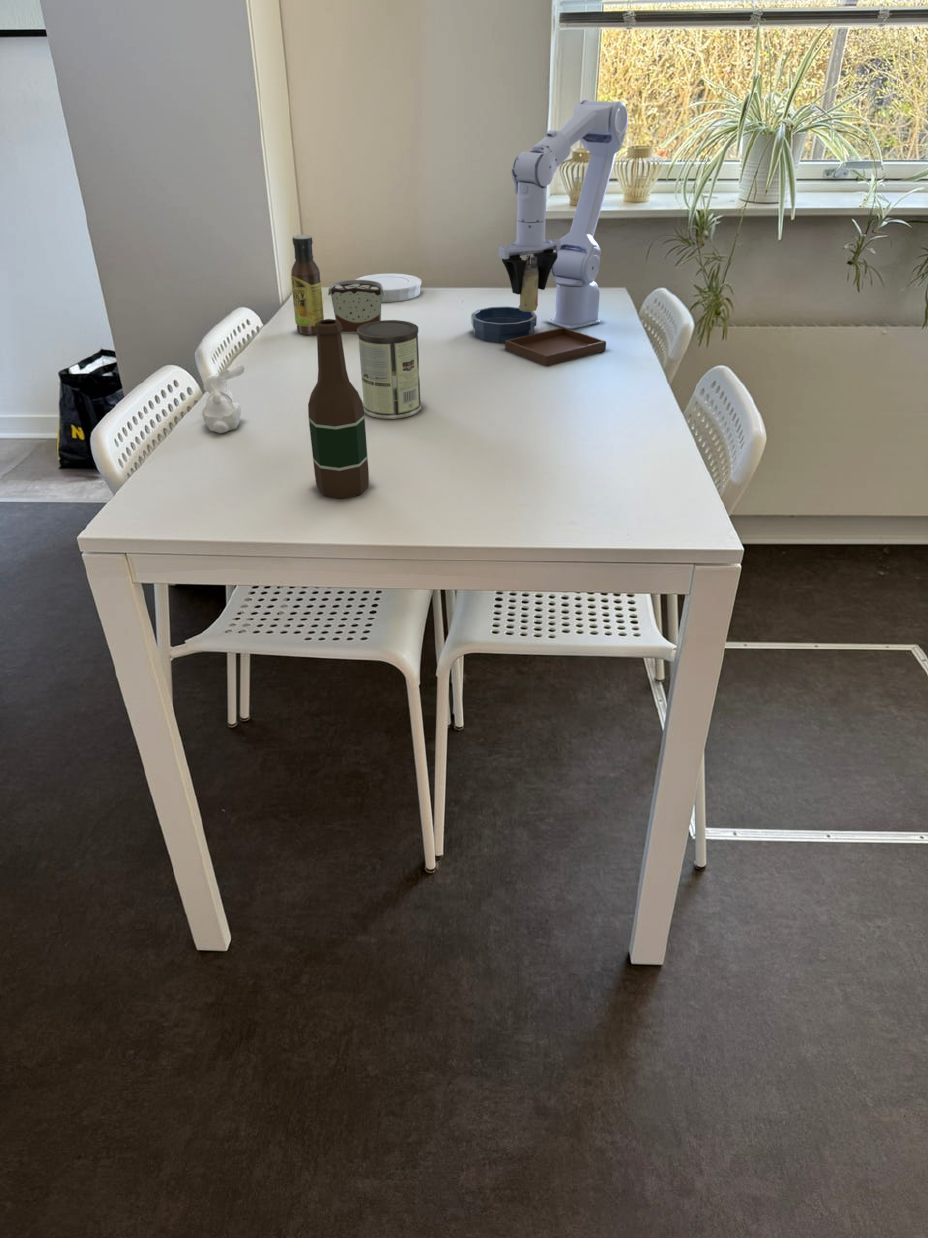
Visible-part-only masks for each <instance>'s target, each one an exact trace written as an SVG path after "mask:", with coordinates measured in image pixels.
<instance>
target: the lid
mask: <svg viewBox="0 0 928 1238" xmlns="http://www.w3.org/2000/svg"><path fill="white" fill-rule="evenodd" d="M355 280H369V281H375V282H378V283H380V284H381V285H382V287H383V290H384V294H385V296H383V293H382V301H381V303H393V302H394V303H395V302H403V301H408V300H409V301H410V300H412V299H415V298H417V297H419V296H420V294H421V285H422V279H420V277H417V276H415V275H412V274H405V273H376V274H368V275H364V276H361V277H357V278H356V279H355Z"/></svg>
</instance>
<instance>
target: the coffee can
mask: <svg viewBox="0 0 928 1238" xmlns="http://www.w3.org/2000/svg"><path fill="white" fill-rule="evenodd" d="M356 335H358V336H357V337H358V338H357V339H358V347H359V348H358V350H359V351H358V352H359V363H360V364H359V365H360V375H361V388H362V399H363V400H362V402H363V409H364V414H366V415H368V416H369V417H371V418H376V419H384V420H392V419H393V420H394V419H396V420H398V419H404V418H407V417H408V418H409V417H412V416H414V415H416V414H418V413H420V411H421V409H422V405H421V403H422V402H421V387H420V386H421V381H420V380H421V379H420V358H419V357H420V356H419V355H420V354H419V326H418V325H417V324H415V323H414V322H411V321H407V320H397V319H385V320H381V321H375V322H370V323H366V324H364V325H361V326H360V327H358V329H357V333H356Z"/></svg>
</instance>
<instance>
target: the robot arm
mask: <svg viewBox="0 0 928 1238" xmlns="http://www.w3.org/2000/svg"><path fill="white" fill-rule="evenodd" d="M629 123H630V122H629V115H628V109H627V106H626V104H625V102H624V101H622V100H617V101H608V100H607V101H605V100H604V101H602V100H588V99H582V100H580V101H579V103H578V104H576V105H575V106H574V110H573V115H572V116H571V118H570V119H569V120H568V121H567V122H566V123H565V124H564V126H562V128H561V129H559V130H553V129H551V130H548V131H547V132H546V133H545V136H544V137H543V138H541V140H539V142H538V143H535V145H533V147H532V148H531V149H530V150H529V151H522V152H519V154H518V155H516V157H515V158H514V161H513V163H512V168H511V172H510V173H511V178H512V181H513V183H514V192H515V194H516V195H517V197H516V198H517V200H516V206H517V208H516V239H515V240H514V243H510V244H508V245H505V246H500V247H498V259H501V262H502V263H503V265H504V268H505V270H506V273H507V275H508V278H509V281H510V282H509V283H510V286H511V292H512V294H515V295H518V296H520V294H521V291H522V282H523V273H524V269H525V265H526V262H527V261H525V260H526V259H522V256H527V255H532V256H533V257H534V256H537V265H538V271H539V277H538V290H541V291H545V290H546V286H547V283H548V279H549V277H550V275H551V276H552V278H553V282H554V283H556V291H555V292H556V293H555V314H554V317H552V318H548V319H546V322H547V323H548V324H552V325H554V326H558V327H559V328H562V327H565V328H568V329H571V330H574V329H578V328H582V327H587V326H590V325H596V324H600V323H601V320H600V319H599V307H600V288H599V285H598V284H597V282H596V281H595V279H596V278H597V276H598V275H599V270H600V261H601V260H600V259H601V254H602V249H601V247H600V246H599V244H598V242H597V241H596V240H595V238H594V236H595V233H596V230H597V225H598V223H599V219H600V218H599V217H600V215H601V211H602V207H603V205H604V200H605V196H606V192H607V189H608V185H609V182H610V179H611V175H612V171H613V168H614V164H615V160H616V156H617V154H618V152H619V151H621V150H622V147H623V144H624V139H625V136H626V133H627V130H628V126H629ZM579 141H580V142H581V144H582V147H583V149H585V150H587V151H588V152H589V160H588V164H587V167H586V171H585V174H584V179H583V182H582V186H581V189H580V193H579V196H578V201H577V204H576V208H575V212H574V215H573V219H572V223H571V226H570V230H569V232H568V233H566V234H565V235H563V236H561V237H560V238H559V239H558V238H550V239H549V238H547V239H546V223H547V222H546V221H547V220H546V219H547V198H548V197H547V195H548V193H547V192H548V185H550V184H551V182H552V181H553V179H554V175H555V173H556V172H557V169H558V167H559V166H560V165H561V164H562V163H563V162H565V161H566V160H567V159H568V158H569V156H570V154H571V149H572V146H574V145H575V144H576V143H577V142H579Z"/></svg>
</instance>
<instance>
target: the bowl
mask: <svg viewBox="0 0 928 1238" xmlns="http://www.w3.org/2000/svg"><path fill="white" fill-rule="evenodd" d="M470 317H471V318H470V320H471V321H470V323H471V326H472V333H473V337H474V338H476V339H478V340H482V341H484V342H489V343H490V342H491V343H501V344H502V343H504V344H505V340H510V339H514V338H518V337H523V336H527V335H531V334H535V327H537V322H538V321H537V318H538V316H537V314H536V313H535V311H531V312H525V311H521V310H519V307H515V306H489V307H485V308H480V309H477V310H474V312H472V313H471V315H470Z"/></svg>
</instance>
